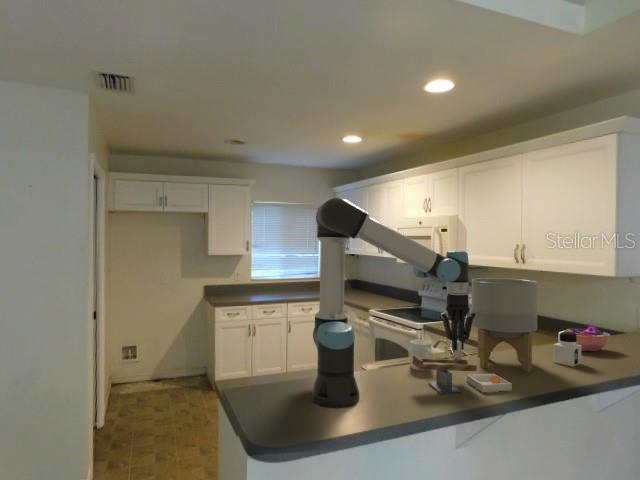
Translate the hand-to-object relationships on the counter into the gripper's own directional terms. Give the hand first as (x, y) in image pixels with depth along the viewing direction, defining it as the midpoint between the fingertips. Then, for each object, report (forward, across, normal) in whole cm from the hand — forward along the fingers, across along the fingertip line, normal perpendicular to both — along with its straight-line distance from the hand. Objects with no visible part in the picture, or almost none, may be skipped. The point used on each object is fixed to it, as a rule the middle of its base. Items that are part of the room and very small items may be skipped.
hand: (457, 358), depth 152 cm
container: (+9, +56, +15) cm, 59 cm away
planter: (+9, +29, +18) cm, 35 cm away
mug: (+8, -7, +15) cm, 19 cm away
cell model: (+9, +80, +33) cm, 87 cm away
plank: (+1, -8, -4) cm, 9 cm away
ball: (+6, +10, -7) cm, 14 cm away
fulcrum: (+8, -8, -7) cm, 13 cm away
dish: (+8, +8, -7) cm, 13 cm away
